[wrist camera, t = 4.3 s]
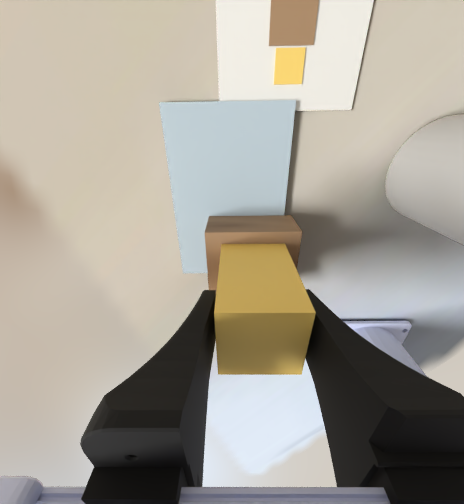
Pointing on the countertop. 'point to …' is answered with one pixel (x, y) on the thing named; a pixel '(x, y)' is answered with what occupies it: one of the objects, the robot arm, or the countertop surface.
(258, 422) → the countertop surface
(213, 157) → the plate
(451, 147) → the beverage can
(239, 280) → the ochre brick
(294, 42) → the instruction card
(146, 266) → the countertop surface
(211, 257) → the walnut base brick
